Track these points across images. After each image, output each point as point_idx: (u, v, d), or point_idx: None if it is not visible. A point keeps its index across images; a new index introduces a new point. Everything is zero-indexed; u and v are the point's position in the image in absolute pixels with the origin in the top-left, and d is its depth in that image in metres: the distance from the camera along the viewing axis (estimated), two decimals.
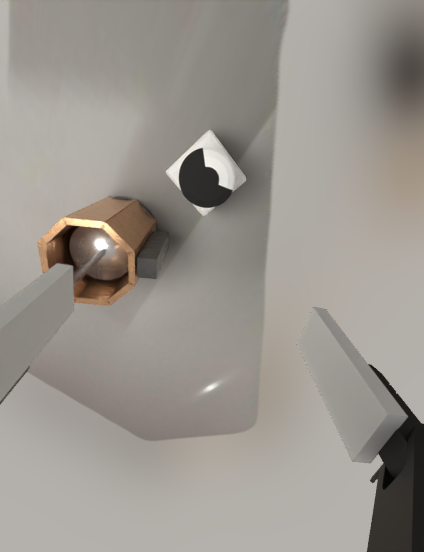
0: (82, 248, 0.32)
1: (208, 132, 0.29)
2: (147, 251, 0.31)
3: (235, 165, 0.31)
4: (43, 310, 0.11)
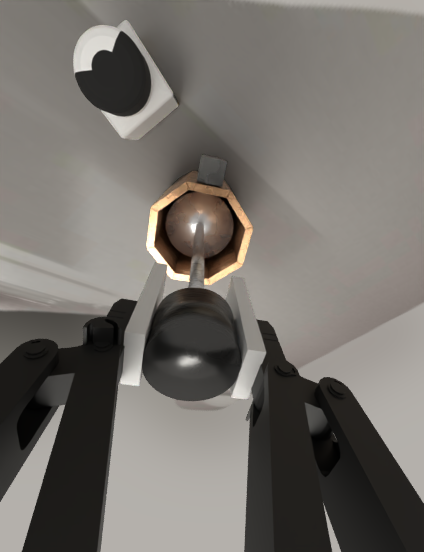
0: (193, 245, 0.30)
1: None
2: None
3: None
4: (158, 300, 0.13)
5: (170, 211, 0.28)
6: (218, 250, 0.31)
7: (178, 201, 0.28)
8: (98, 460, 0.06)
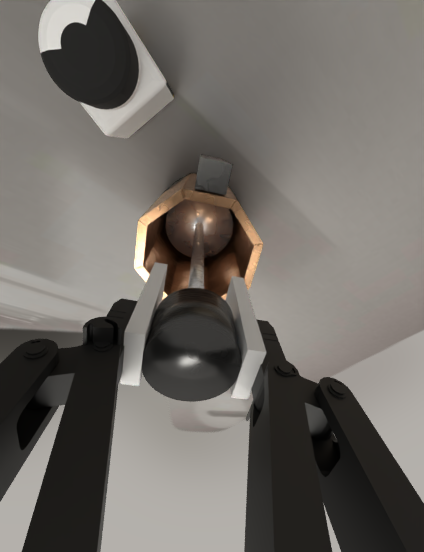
0: (193, 245, 0.30)
1: None
2: None
3: None
4: (158, 300, 0.13)
5: (170, 211, 0.28)
6: (218, 250, 0.31)
7: None
8: (98, 460, 0.06)
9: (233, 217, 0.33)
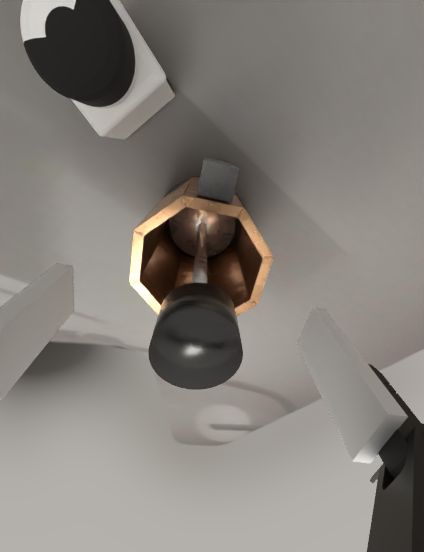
0: (196, 244, 0.31)
1: None
2: None
3: None
4: (43, 310, 0.11)
5: None
6: (220, 249, 0.31)
7: None
8: None
9: (238, 223, 0.31)
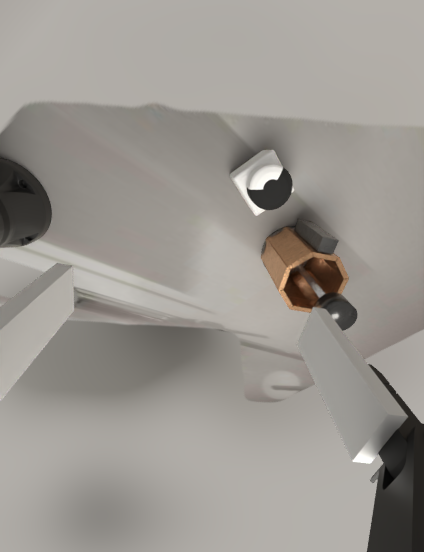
0: None
1: (235, 180, 0.39)
2: (313, 241, 0.40)
3: (261, 159, 0.38)
4: (43, 310, 0.11)
5: None
6: None
7: None
8: None
9: None
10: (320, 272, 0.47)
